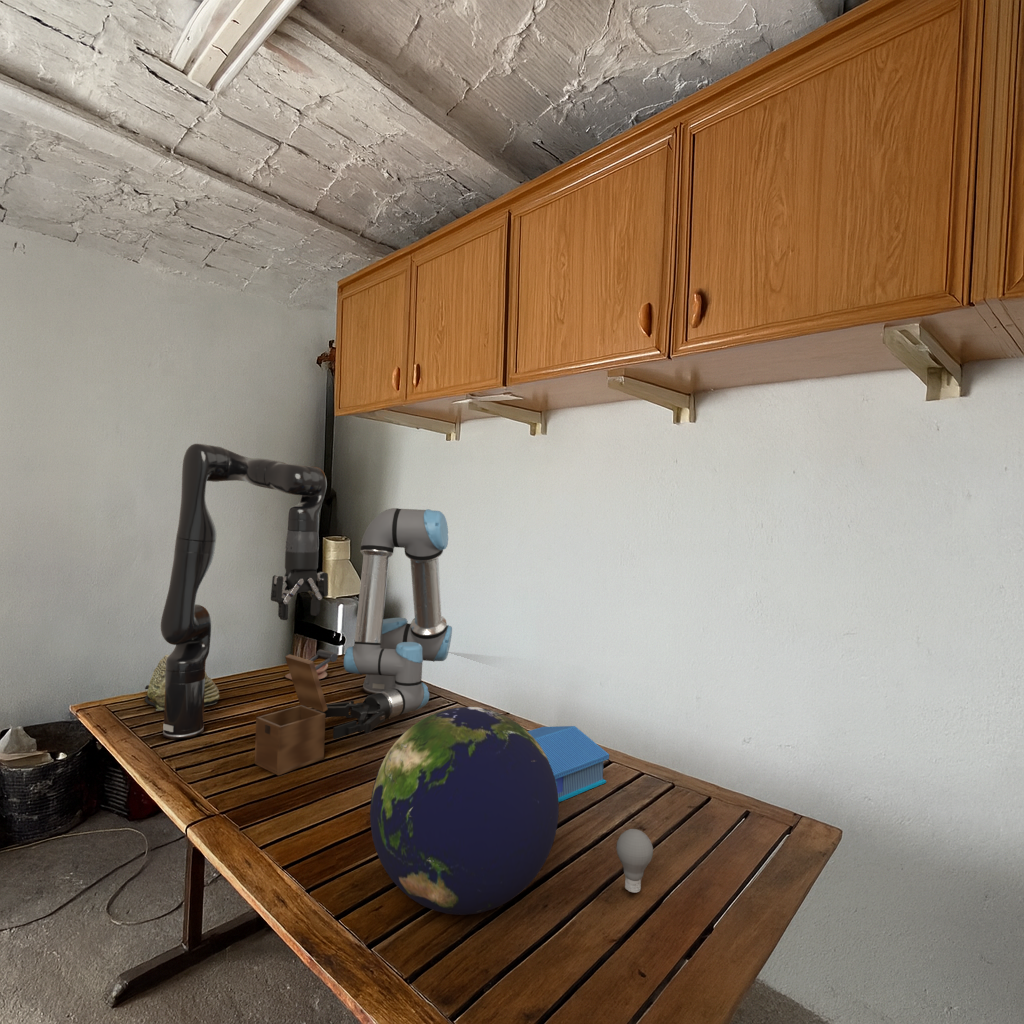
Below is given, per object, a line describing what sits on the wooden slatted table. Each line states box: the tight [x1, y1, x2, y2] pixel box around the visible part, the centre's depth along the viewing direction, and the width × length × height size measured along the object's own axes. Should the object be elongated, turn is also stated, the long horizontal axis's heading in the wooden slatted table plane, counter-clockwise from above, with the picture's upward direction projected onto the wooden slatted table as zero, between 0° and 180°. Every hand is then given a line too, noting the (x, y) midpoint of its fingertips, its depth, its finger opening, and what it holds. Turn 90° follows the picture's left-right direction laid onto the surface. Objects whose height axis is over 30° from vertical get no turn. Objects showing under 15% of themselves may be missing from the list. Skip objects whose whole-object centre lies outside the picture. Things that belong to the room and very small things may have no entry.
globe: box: [369, 706, 560, 916], centre depth 102 cm, size 30×30×30 cm
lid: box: [284, 648, 339, 712], centre depth 156 cm, size 13×10×9 cm
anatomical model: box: [284, 663, 329, 680], centre depth 220 cm, size 13×4×12 cm
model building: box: [526, 725, 610, 803], centre depth 140 cm, size 39×24×10 cm, turn 132°
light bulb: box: [615, 828, 654, 894], centre depth 106 cm, size 6×6×10 cm
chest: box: [254, 704, 327, 776], centre depth 150 cm, size 12×10×11 cm
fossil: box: [146, 654, 221, 712], centre depth 185 cm, size 9×18×15 cm, turn 132°
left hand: (299, 617), depth 151 cm, fingers open, 8 cm apart
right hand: (316, 726), depth 156 cm, fingers open, 13 cm apart
